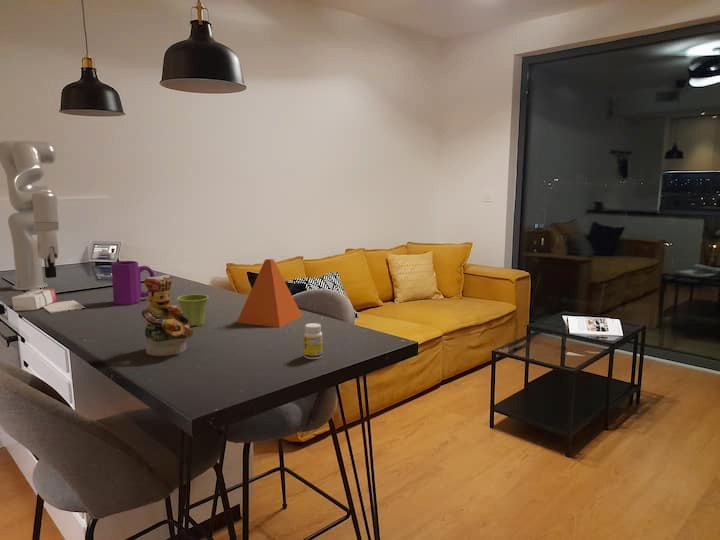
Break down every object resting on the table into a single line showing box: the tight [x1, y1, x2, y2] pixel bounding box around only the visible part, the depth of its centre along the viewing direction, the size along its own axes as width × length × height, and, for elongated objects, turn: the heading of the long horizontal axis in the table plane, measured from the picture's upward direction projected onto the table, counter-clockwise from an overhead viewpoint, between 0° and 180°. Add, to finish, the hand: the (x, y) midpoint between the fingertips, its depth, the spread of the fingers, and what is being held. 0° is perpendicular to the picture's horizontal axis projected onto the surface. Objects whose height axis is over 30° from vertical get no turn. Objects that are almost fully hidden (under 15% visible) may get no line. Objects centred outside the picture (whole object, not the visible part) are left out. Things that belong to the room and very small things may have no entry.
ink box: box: [10, 287, 58, 312], centre depth 187 cm, size 9×5×12 cm
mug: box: [110, 260, 156, 306], centre depth 197 cm, size 9×16×15 cm, turn 133°
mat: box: [42, 299, 86, 314], centre depth 188 cm, size 15×11×1 cm
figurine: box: [140, 274, 194, 357], centre depth 138 cm, size 12×15×20 cm
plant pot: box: [176, 293, 209, 327], centre depth 166 cm, size 9×9×9 cm
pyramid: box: [236, 258, 303, 328], centre depth 172 cm, size 16×16×20 cm
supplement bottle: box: [303, 322, 323, 360], centre depth 135 cm, size 5×5×8 cm
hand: (50, 277), depth 192 cm, fingers closed
